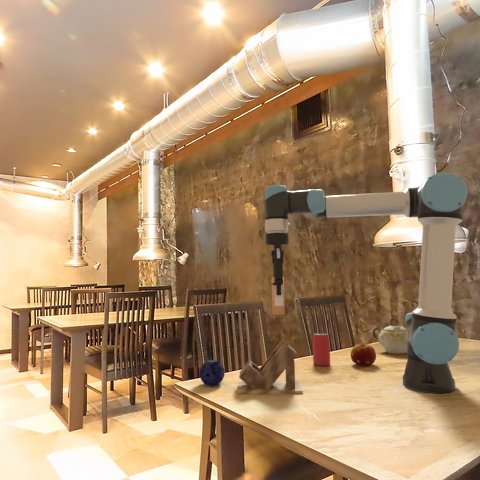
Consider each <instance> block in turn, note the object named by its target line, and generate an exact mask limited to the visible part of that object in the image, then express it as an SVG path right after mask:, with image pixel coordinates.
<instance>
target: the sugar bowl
mask: <svg viewBox="0 0 480 480" xmlns="http://www.w3.org/2000/svg"><path fill="white" fill-rule="evenodd" d="M392 321H395V322H396V323H394V324H393V322H392ZM389 324H390V325H388V326H386V327H384V328H380V327H374V328H373V329H372V335H373V337H375V339H376V340H377V342H379V344H380V345H381V346H382V348H384V350H385V352H386V353H388V354H395V355H403V354H407V338H406V327H404V326H402V325H401V326H400V325H399V321H398V319H396V318H393V317H392V318H391V319H390V320H389ZM376 331H379V333H378V336H377V335H376Z"/></svg>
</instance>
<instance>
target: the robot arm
mask: <svg viewBox="0 0 480 480" xmlns="http://www.w3.org/2000/svg"><path fill="white" fill-rule="evenodd" d="M467 197H468V187H467V185H466V183H465V181H464V180H463V179H462V178H461V177H460V176H458V175H457V174H456V173H451V172H447V171H446V172H445V171H443V172H437V173H435V174H432V175H431V176H428V177H427V178H426V179H425V180H424V181H423V182H422V183H421V185H420V186H417V187H408V188H406V189H405V190H404V191H391V192H373V193H358V194H355V193H354V194H353V193H352V194H340V195H339V194H338V195H337V194H336V195H325V191H324V190H323V189H322V188H321V189H314V188H312V189H303V190H292V191H290V190H288V186H286V185H283V184H280V185H279V184H273V185H269V186H266V188H265V189H264V219H265V220H264V231H265V233H266V234H265V235H264V236H265V245H266V246H273V250H270V251H271V252H270V255H271V264H272V272H273V276H272V277H275V282H274V283H272V282H271V286H272V285H274V299H275V306H283V277H284V274H283V273H284V272H283V270H284V269H283V268H284V267H283V265H284V255H285V252H284V251H285V250H282V246H287V245H289V243H290V241H289V240H290V239H289V233H288V232H289V226H290V225H291V223H290V222H289V215H303V216H304V217H305V218H306V219H309V220H317V219H321V218H322V219H325V218H343V217H345V218H346V217H349V218H350V217H371V216H373V217H375V216H376V217H377V216H397V215H398V216H400V215H402V216H403V215H404V216H405V217H407V218H417V221H418V222H419V223H420V224H421V226H422V235H421V236H422V238H421V255H420V270H419V271H420V273H419V286H418V287H419V289H418V306H417V307H416V308H415V309H414V310H413V311H412V312H408V313H406V315H405V319H404V324H405V328H406V338H407V353H406V355H407V361H406V364H405V368H404V374H402V385H403V386H404V387H406V388H408V389H411V390H413V391H418V392H424V393H434V394H435V393H436V394H440V393H442V394H443V393H444V392H445V393H451V392H454V391H456V380H455V378H453V375H452V371H451V369H450V366H449V365H450V364H449V362H451V361H452V360H453V359H455V357H456V356H457V354H458V353H459V348H460V341H459V338H458V335H457V325H458V324H457V320H458V319H457V315H456V314H455V313H454V312H453V311H452V301H453V299H452V298H453V282H454V281H453V280H454V265H455V263H454V262H455V247H456V245H455V244H456V228H457V227H458V225H459V224H460V223H462V222H463V214H464V213H463V212H464V211H463V209H464V204H465V202H466V200H467ZM453 390H454V391H453ZM450 391H451V392H450Z"/></svg>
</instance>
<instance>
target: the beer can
mask: <svg viewBox="0 0 480 480" xmlns="http://www.w3.org/2000/svg"><path fill="white" fill-rule="evenodd" d="M330 348H331V347H330V337H329V334H328V333H325V332H315V333H313V337H312V359H313V360H312V363H313V365H315V366H317V367H328V366H330V365H331V349H330Z"/></svg>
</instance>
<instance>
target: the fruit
mask: <svg viewBox="0 0 480 480" xmlns="http://www.w3.org/2000/svg"><path fill="white" fill-rule="evenodd" d="M350 358H351V361H352V362H353V363H354V364H356V365H358V366H361V367H369V366H372V365H374V363H375V361H376V360H377V359H376V358H377V353H376V350H375V348H374V347H373V346H372V345H370V344H368V343H358V344H355V345H354V346H353V347H352V348H351V351H350Z"/></svg>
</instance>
